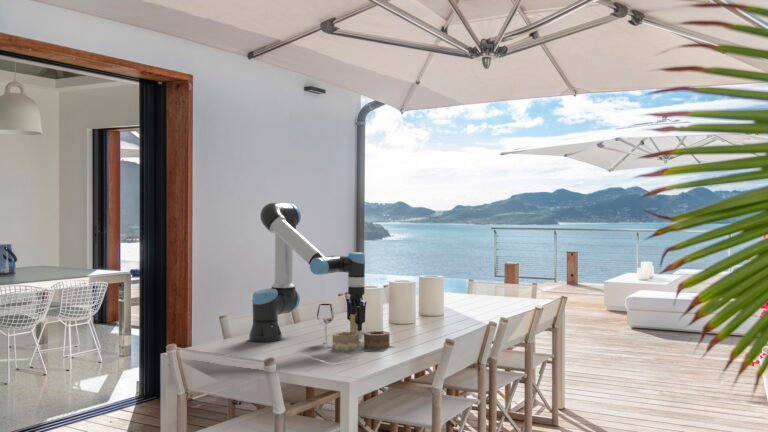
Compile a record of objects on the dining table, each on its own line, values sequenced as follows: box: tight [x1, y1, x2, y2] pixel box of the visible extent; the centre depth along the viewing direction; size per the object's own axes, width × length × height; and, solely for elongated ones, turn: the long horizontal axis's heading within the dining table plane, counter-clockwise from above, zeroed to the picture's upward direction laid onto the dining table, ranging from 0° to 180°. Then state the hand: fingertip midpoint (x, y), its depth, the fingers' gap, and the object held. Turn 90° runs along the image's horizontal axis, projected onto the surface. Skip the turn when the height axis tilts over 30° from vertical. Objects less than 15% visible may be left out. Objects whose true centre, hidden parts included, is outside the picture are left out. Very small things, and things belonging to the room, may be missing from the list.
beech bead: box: [332, 331, 360, 351], centre depth 291 cm, size 11×11×6 cm
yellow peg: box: [349, 314, 363, 339], centre depth 307 cm, size 4×4×11 cm
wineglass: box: [316, 303, 336, 344], centre depth 304 cm, size 8×8×18 cm
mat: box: [327, 341, 395, 355], centre depth 292 cm, size 24×18×1 cm
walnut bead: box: [363, 330, 391, 350], centre depth 293 cm, size 11×11×6 cm
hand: (355, 336), depth 307 cm, fingers closed on yellow peg, 4 cm apart
